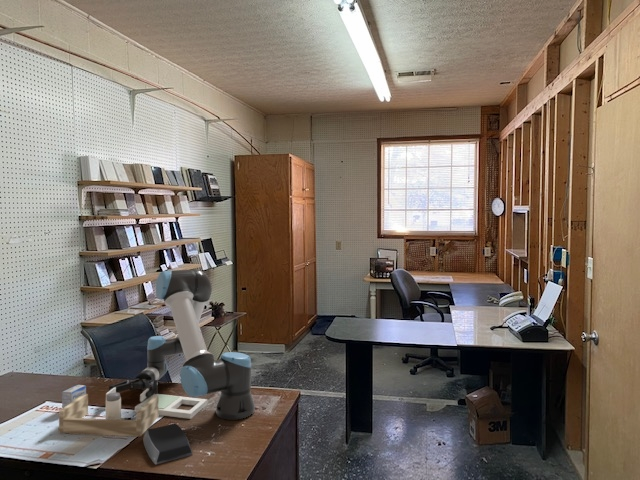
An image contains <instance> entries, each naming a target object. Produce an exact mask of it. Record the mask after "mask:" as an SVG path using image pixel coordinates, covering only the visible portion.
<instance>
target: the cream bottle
mask: <svg viewBox="0 0 640 480" xmlns="http://www.w3.org/2000/svg"><path fill="white" fill-rule="evenodd" d="M105 419H114V420H122V397H121V393H120V392H117V393H110V394H108V395H107V396H106V395H105Z"/></svg>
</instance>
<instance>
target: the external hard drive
mask: <svg viewBox="0 0 640 480" xmlns="http://www.w3.org/2000/svg"><path fill="white" fill-rule="evenodd" d="M142 440H143V441H142V442H143V446H144V448H145V451H146V453H147V455H148V457H149V459H150V460H151V461H152V463H153V464H154V465H160V464H164V463H167V462H171V461H174V460H178V459H182V458H186V457H190V456H193V451H192V448H191V445H190V441H189V439H188V437H187V435H186V434H185V432H184V430H183V429H182V428H181V427H180V426H179V425H178V424H177V423H172V424H168V425H161V426H158V427H153V428H148V429H147V430H146V431H145V432H144V434H143V438H142Z"/></svg>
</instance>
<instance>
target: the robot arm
mask: <svg viewBox="0 0 640 480" xmlns="http://www.w3.org/2000/svg"><path fill="white" fill-rule="evenodd" d="M212 290H213V287H212V282H211V279H210V278H209V276H208V275H207V274H206V273H205V272H204V271H202V270H200V269H197V268H191V269H177V270H171V269H170V270H164V271H163V270H162V271H161V272H160V273H159V274H158V275H157V278H156V283H155V294H156V295H155V296H156V297H157V299H158V300H160V301H164V304H165V306H166V307H168V308H170V312H171V314H172V318H173V321H174V325H175V329H176V332H177V336H176V337H174V338H168V339H166V338H165V336H163V335H156V336H155V335H154V336H153V335H152V336H150V337H149V338H148V340H147V347H146V349H147V367H146V368H145V369H143V370H142V371H141V372H139V373H138V374H137V375H136V377H135V378H134V379H133V380H130V379H128V378H127V379H124V380H122V381H120V382H116V383H114V384H110V385H109V386H108V391H107V392H106V393H105V397H106V396H107V395H108V394H110V393H120V392H123V391H124V392H125V391H128V390H130V391H132V390H138V389H140V390H142V393H140V395H139V402H140V403H142V402H143V401H145V400H146V399H147V398H149V397H151V396H152V395H154V394H159V393H158V389H159V388H158V384H159V383H158V381H159V380H160V379H161V378H163V377H164V376H165V375H166V373H167V371H168V369H169V366H168V363H167V362H166V357H169V356H174V355H181V354H183V357H184V359H185V360H184V362H183V364H182V367H181V369H180V373H179V377H180V378H179V379H180V383H181V384H180V385H181V386H182V389H183V390H184V392H185V393H186V395H187V396H189V397H190V398H198V397H205V396H207V395H211V394H214V393H218V392H220V395H219V397H218V400H217V403H216V406H215V414H216V416H217V417H218V418H220V419H223V420H228V421H229V420H230V421H238V419H239V420H243V418H244V419H246V417H247V418H249V417H251V416H252V415H254V413H255V412H254V411H256V405H255V401H254V397H253V395H252V393H251V391H252V389H251V387H252V386H251V385H252V384H251V383H252V361H251V360H252V359H251V357H250V356H249V355H248V354H245V353H242V352H236V351H229V352H227V351H226V352H223V353H222V354H220V355H221V356H220V358H219V359H215V357H214V354H213V353H212V352H210V351H208V348H207V345H206V342H205V339H204V335H203V334H202V330H201V326H200V324H199V322H200V321H201V320H200V319H201V317H202V314H203V311H204V309H205V306H206V303H207V302H209V300H210V299H211V295H212ZM251 414H252V415H251ZM250 415H251V416H250ZM248 416H249V417H248Z"/></svg>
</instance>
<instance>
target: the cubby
mask: <svg viewBox="0 0 640 480" xmlns="http://www.w3.org/2000/svg"><path fill="white" fill-rule="evenodd" d="M87 414H88V415H89V393H86V394H83V395H82V396H80V397H79V398H78V399H76V400H75V401H73V402H72V403H70V404H69V405H67V406H66V407H64V408H63V409H62V408H61V409H60V410H58V434H59V433H69V434H68V435H86V434H93V435H94V436H114V437H115V436H116V437H142V436H143V435H144V434H145V432H146V430H147V429H150V427H151V425H152V424H154V422H155V421H156V420H157V419H158V418H159V415H158V396H154V397H153V398H152V399H151V400H150V401H149V402H148V403H147V404H146V405H145V406H144V407H143V408H142V409H141V410H140V411H139V412H136V417H135V418H136V419H121V420H114V419H106V418H86V416H85V415H87ZM88 415H87V416H88ZM84 416H85V417H84ZM82 417H84V418H82ZM93 435H92V436H93Z"/></svg>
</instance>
